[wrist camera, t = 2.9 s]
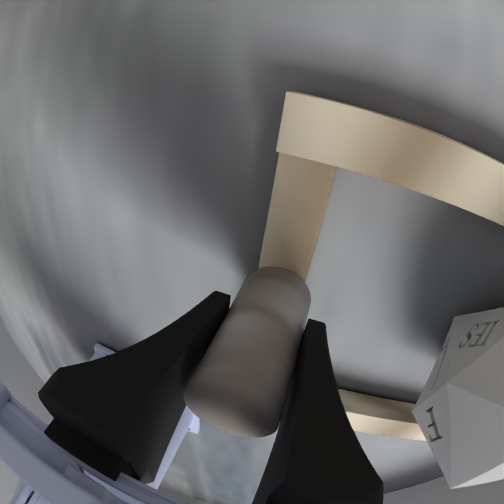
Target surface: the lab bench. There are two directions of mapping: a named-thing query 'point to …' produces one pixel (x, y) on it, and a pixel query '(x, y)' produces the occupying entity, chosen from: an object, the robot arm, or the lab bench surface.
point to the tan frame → (302, 248)
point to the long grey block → (447, 493)
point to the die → (467, 401)
